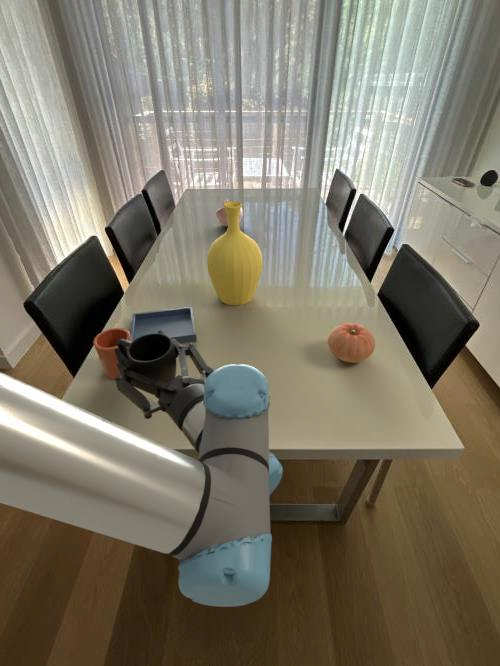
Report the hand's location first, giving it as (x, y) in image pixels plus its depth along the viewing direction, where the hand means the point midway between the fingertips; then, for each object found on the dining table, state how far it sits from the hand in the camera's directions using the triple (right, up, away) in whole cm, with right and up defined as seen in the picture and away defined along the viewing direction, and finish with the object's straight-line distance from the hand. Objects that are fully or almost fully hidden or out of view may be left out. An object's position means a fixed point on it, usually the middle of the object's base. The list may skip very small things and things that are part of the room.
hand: (139, 344), depth 67 cm
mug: (+3, -7, +1) cm, 8 cm away
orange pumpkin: (+46, -3, +16) cm, 49 cm away
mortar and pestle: (+13, +51, +87) cm, 102 cm away
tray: (-1, +3, +24) cm, 24 cm away
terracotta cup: (-8, -6, +12) cm, 16 cm away
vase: (+18, +13, +38) cm, 44 cm away
